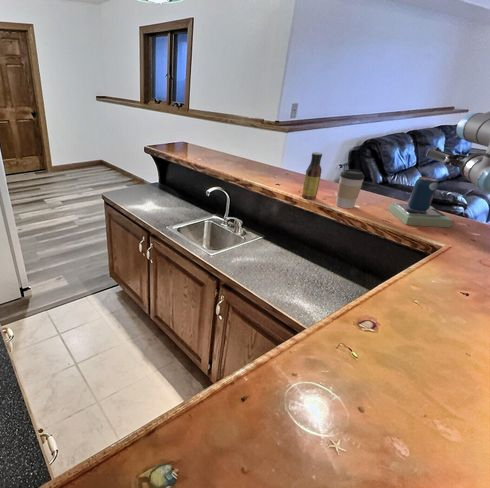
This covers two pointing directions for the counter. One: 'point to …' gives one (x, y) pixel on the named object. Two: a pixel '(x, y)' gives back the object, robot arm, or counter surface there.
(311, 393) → the counter surface
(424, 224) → the scale
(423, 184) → the soda can
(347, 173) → the coffee cup
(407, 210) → the scale pan
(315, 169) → the sauce bottle
